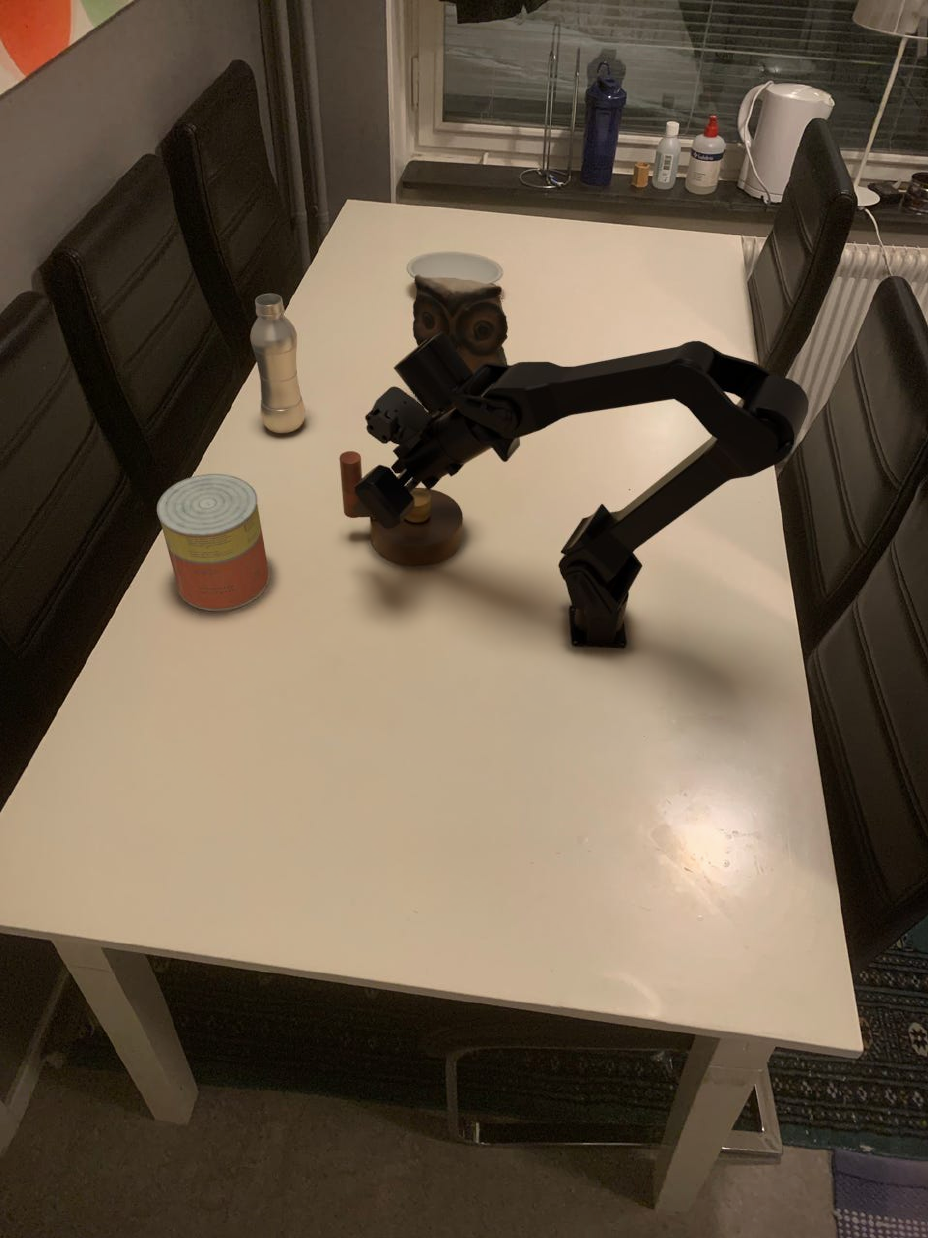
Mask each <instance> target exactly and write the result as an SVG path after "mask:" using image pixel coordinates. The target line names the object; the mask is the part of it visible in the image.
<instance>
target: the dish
mask: <svg viewBox="0 0 928 1238" xmlns="http://www.w3.org/2000/svg"><path fill="white" fill-rule="evenodd" d="M405 269H406V272H407V273H408V275H409V276H410V277H411V278H413V279H415V276H416V275H420V276H421V277H432V278H438V277H443V278H458V279H461V280H473V281H476V282H480V283H484V284H490V285H494V283H497V282H498V281H500V280H501V279H502V278H503V275H504V269H503V267H502V265H500V264H499V263H498V262H496V261H495V260H493V259H491V258H488V257H486V256H483V255H480V254H476V253H471V252H465V251H464V252H463V251H434V252H429V253H424V254H420V255H418V256H414V257H413V258H411V259H410V260H409V261H408V262H407V264H406V268H405Z"/></svg>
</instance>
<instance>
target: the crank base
mask: <svg viewBox="0 0 928 1238" xmlns="http://www.w3.org/2000/svg"><path fill="white" fill-rule="evenodd" d="M415 489H422V490H425V491H426V492H428V493H429V495H430V497H431V506H430V517H429V518H428V519H427V520H425V521H423V522H410V521H408V520H406V519H404V520H403V521H402V522H401V523H400V524H399V525H397V526H395V527H394V528H392V529H385V528H384V527H383V526H382V525H381V524H380V522H379V521H378V520H377V519H376V518H375V517H369V527H370V528H369V529H370V539H371V544H372V546H373V548H374V550H375V551H376V552H377V554H379V555H380V556H381V557H382V558H384V559H385V560H387V561H389V562H391V563H393V564H397V565H400V566H405V567H414V568H415V567H416V568H417V567H418V568H419V567H429V566H433V565H437V564H440V563H442V562H444V561H447V560H448V559H449V558H451V557H452V556H454V555H455V554H456V553H457V551H458V550H459V548H460V547H461V545H462V541H463V528H464V527H463V526H464V525H463V524H464V515H463V510H462V508H461V506H460V504H459V503H458V502H457V501H456V500H455V499H454V498H452V497H451V496H450V495H448V494H446V493H444V492H442V491H439V490H437V489H433V488H431V489H429V490H428V489H427V488H426V487H416V488H415Z"/></svg>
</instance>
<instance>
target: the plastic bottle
mask: <svg viewBox="0 0 928 1238" xmlns="http://www.w3.org/2000/svg"><path fill="white" fill-rule="evenodd" d="M254 304H255V315H256V316H257V319H256V320H255V321H254V323H253V325H252V327H251V331H250V335H249V338H250V344H251V348H252V350H253V354H254V357H255V362H256V364H257V370H258V373H259V381H260V417H261V420H262V423H263V425H264V426H265V427H266V428H267V430H269V431H271V432H273V433H276V434H288V433H291V432H295V431H296V430H298V429H299V428H300V427H301V426H302V425H303V423H304V421H305V417H306V415H305V414H306V407H305V403H304V399H303V397H302V395H301V389H300V385H299V379H298V370H297V369H298V368H297V367H298V366H297V351H298V350H297V349H298V333H297V330H296V328H295V325H294V323H292V321H290V319H288V318H287V316H285V315H284V314H285V313H286V311H285V307H284V302H283V297H282V296H281V295H279V294H276V293H265V294H264V293H263V294H261V295H259V296H257V297H256V298H255V302H254Z"/></svg>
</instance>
